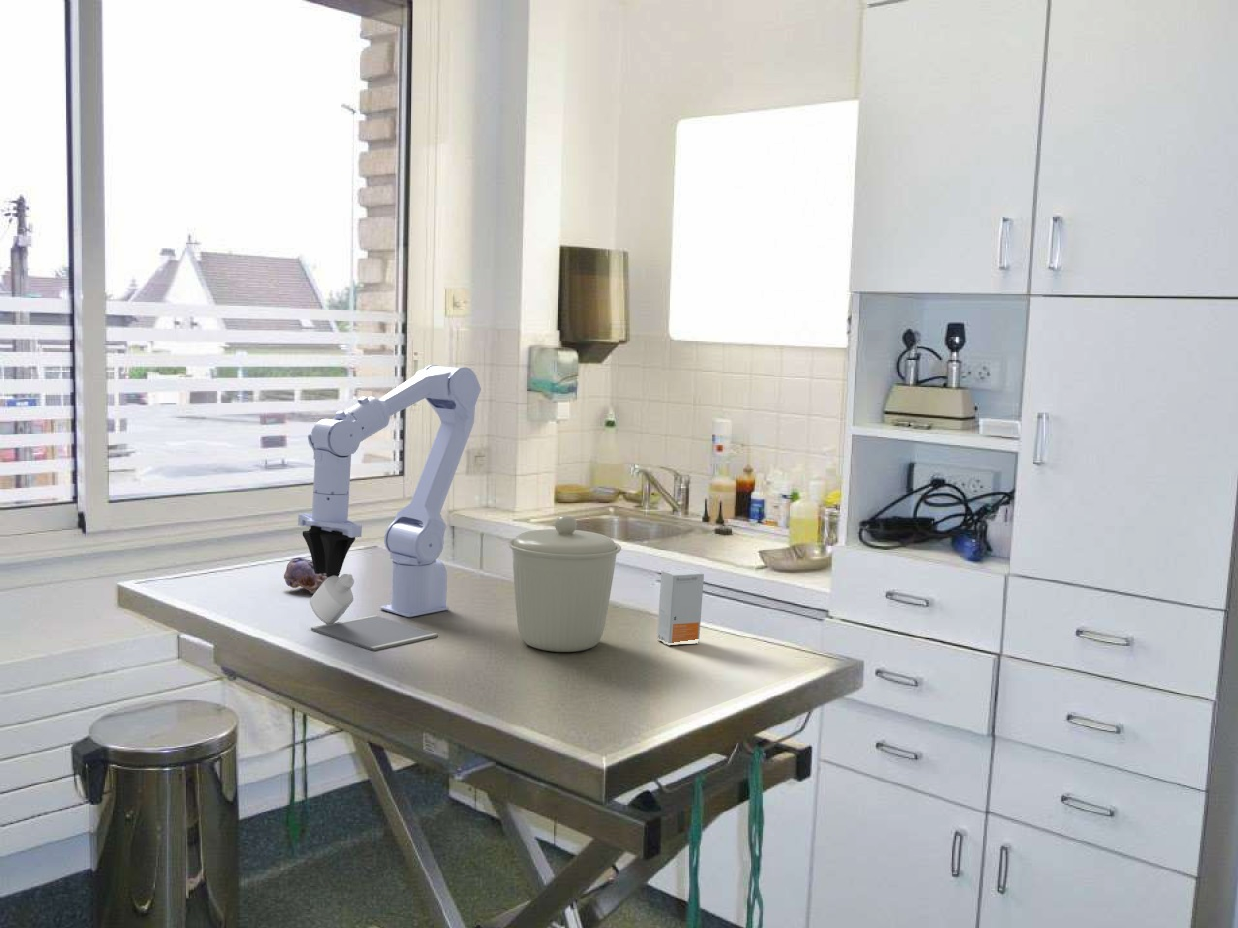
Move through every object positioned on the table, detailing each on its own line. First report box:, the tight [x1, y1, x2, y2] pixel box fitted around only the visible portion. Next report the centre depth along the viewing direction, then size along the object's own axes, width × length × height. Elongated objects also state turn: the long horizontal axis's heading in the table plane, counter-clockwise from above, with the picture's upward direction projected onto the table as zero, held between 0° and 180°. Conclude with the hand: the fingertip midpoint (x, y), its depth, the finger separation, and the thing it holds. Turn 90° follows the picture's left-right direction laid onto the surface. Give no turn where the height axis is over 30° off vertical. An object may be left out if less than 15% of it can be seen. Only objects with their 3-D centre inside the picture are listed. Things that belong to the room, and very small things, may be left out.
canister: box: [507, 515, 622, 653], centre depth 178 cm, size 18×18×21 cm
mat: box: [310, 614, 438, 652], centre depth 180 cm, size 13×16×1 cm
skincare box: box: [656, 568, 705, 643], centre depth 184 cm, size 6×4×12 cm
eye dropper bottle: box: [309, 573, 355, 625], centre depth 181 cm, size 4×6×12 cm
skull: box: [283, 557, 328, 595], centre depth 207 cm, size 12×8×6 cm, turn 54°
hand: (326, 574), depth 182 cm, fingers open, 3 cm apart
